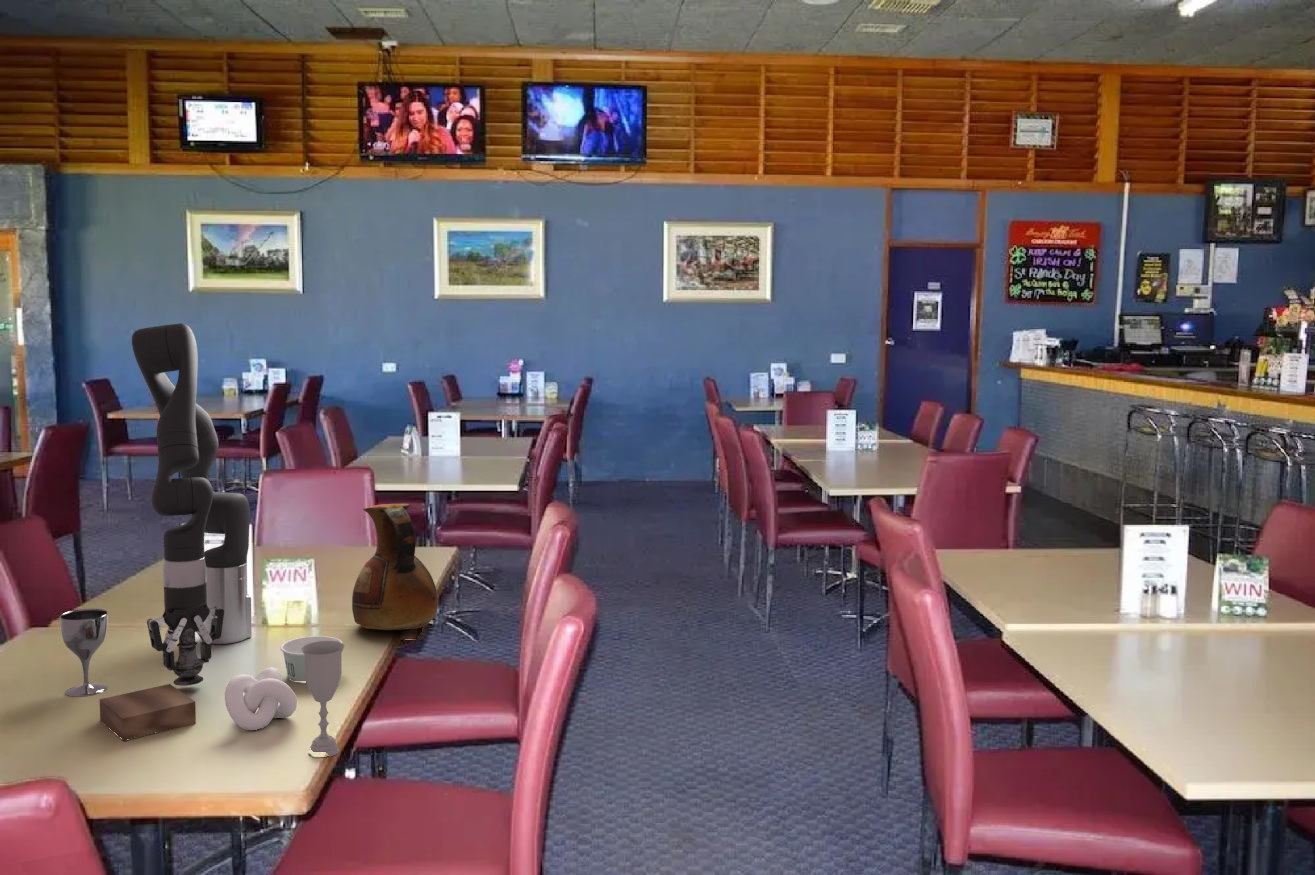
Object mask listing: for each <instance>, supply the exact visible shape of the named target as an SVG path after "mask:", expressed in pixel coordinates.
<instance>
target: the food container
mask: <svg viewBox="0 0 1315 875" xmlns="http://www.w3.org/2000/svg"><path fill="white" fill-rule="evenodd" d="M319 641H336V642H340V643H343V641H342V640H341V639H339V638H337V637H334V636H333V637H332V636H327V635H325V636H324V635H315V636H303V637H297V638H293V639H290V640H287V641H285V642H284V643H282V644H281V646H280V651H281V652H282V653H283V658H284V663H285V668H286V673H287V679H288V678H289V679H291V680H293V681H306V680H305V655H304V654H303V652H302V650H301V649H302V647H303V646H305V645H307V644H310V643H313V642H319ZM343 644H344V643H343ZM289 679H288V680H289Z"/></svg>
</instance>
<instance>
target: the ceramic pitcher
mask: <svg viewBox="0 0 1315 875" xmlns="http://www.w3.org/2000/svg"><path fill="white" fill-rule="evenodd" d="M410 506H411V505H410V503H389V504H388V503H387V504H385V503H384V504H383V503H382V504H376V505H371V506H369V507H365V508H363V511H364V512H366V513H367V514H368V516H369V517H370V518H371V519H372V522H373V523H374V527H375V530H376V538H377V541H376V543H377V545H376V550H375V553H374V554H373V555H372V557H370V558H369V560H368V561H367V562H365V564H364V565H363V566H362V568H361V570H360V571H359V573H358V576H357V578H356V580H355V583H354V587H353V590H352V596H351V598H352V599H351V609H352V615H353V620H354V622H355V623H356V624H357V625H359V626H361V627H363V628H365V629H369V630H370V629H373V630H378V631H381V630H382V631H400V630H401V631H402V630H410V629H420V628H424V627H426V626H427V625H428V624H429V623H430V622H432V620H433V619H434V618H435V617H436V616H437V612H438V603H439V602H438V593H437V586H436V585H435V581H434V579H433V576H432V575H431V572H430V571H429V569H428V568H427V567H426V565H425V564H424V563H423V562H422V561H421V559H419V558H418V557H417V556H416V555H415V554H416V543H417V542H416V534H415V529H414V525H413V520H412V519H411V516H410V514H409V513H408V512H407V510H408V509H409V508H410Z"/></svg>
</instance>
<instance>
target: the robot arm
mask: <svg viewBox="0 0 1315 875" xmlns="http://www.w3.org/2000/svg"><path fill="white" fill-rule="evenodd" d="M196 340H197V339H196V337H195V334H194V332H193V330H192V329H191V327H190V326H189V325H188V324H186V323H172V324H164V325H157V326H150V327H144V328H140V329H139V328H138V329H136V330H135V331H134V332H133V333H132V336H131V346H132V351H133V354H134V358H135V360H136V363H137V366H138V368H139V370H140V373H141V374H142V377H143V379H144V380H145V383H146V384H147V387H148V389H149V391H150V393H151V396H152V397H153V400H154V403H155V405H156V408H157V411H158V414H159V419H158V421H157V425H156V440H157V441H156V442H157V444H156V445H157V453H158V456H157V457H158V463H157V464H158V467H157V473H156V479H155V482H154V485H153V490H152V494H151V505H152V507H153V510H154V511H155V513H156V514H158V515H159V516H161V517H173V516H174V517H175V516H189V515H190V516H191V517H190V519H189V521H187V522H186V523H183V524H180V525H177V526H173V527H169V528H168V529H166V530H165V532H164V534H163V552H164V553H163V556H164V557H163V559H164V560H163V561H164V562H163V571H162V572H163V573H162V576H163V578H162V579H163V606H164V610H163V611H164V612H163V613H162V616H161V617H160V616H159V617H157V618H154V619H153V618H148V619H147V620H146V625H147V629H148V634H149V635H148V636H149V639H150V644H151V647H152V648H153V650H154V649H155V650H156V651H157V652H162V660H163V662H162V663H163V664H162V665H163V666H164V667H165V668H166V669H167V670H168V671H173V670H174V669H175V664H174V662H175V651H174V648H175V646H176V644H177V642H179V637H180V635H182V634H184V632H185V631H186V630H187V629H190V628H191V629H193V630H194V632H195V633H196V634H197V635H198V637H199V638H200V640H201V642H200V643H199V645H200V647H199V648H200V659H203V660H204V664H206V663H209V660H210V659H212V644H213V645H225V644H232V643H233V644H234V643H238V642H241V641H243V640H246V639H249V638H252V637H253V634H252V629H253V628H252V596H251V595H249V594H248V553H249V549H250V548H249V546H250V526H251V525H250V521H251V510H250V509H251V507H250V503H249V501H248V498H247V496H246V495H244V494H243V493H239V492H238V493H237V492H221V491H220V492H217V491H214V489H213V486H212V484H211V482H210V479H209V473H210V470H211V468H212V466H213V464H214V461H215V459H216V457H217V454H218V450H219V439H218V435H217V432H216V430H215V426H214V423H213V420H212V418H211V416H210V414H209V413H208V412H207V411H206V410H205V409H204V408H203V407H202V406H201V405H200V404H198V403H197V395H198V394H197V391H198V370H199V368H198V367H199V364H198V363H199V357H198V355H199V354H198V347H197V346H198V345H197V341H196ZM176 371H178V375H177V376H178V377H177V381H176V385H174V384H173V383H172V382H171V380H170V379H169V377H168V375H167V374H166V373H169V372H170V373H171V372H176ZM179 472H180V475H181V477H179V478H172V477H173V475H175V474H176V473H179ZM205 534H214V535H215V534H217V535H224V537H223V538H224V540H223V543H222V544H221V545H219V546H215V547H212V548H210V549H206V550H205ZM164 623H165V625H166V626H167V627H168V628H166V632H165V635H164V636H165V637H164V639H163V640H162V635H161V630H162V628H163V624H164Z"/></svg>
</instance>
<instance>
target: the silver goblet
mask: <svg viewBox="0 0 1315 875" xmlns="http://www.w3.org/2000/svg"><path fill="white" fill-rule="evenodd" d="M59 621H60V622H59V624H60V626H59V627H60V633H61V637H62V640H63V643H64V645H65V646H66V648H68V650H70V651H71V652H72V653H73V654H75V655H76V656H77V657H78V659H79V661H80V663H81V667H82V673H83V684H78V685H76V686H72V687H69V688H68V689H67V690H65V692H64V693H65V696H68V697H75V698H77V697H78V698H80V697H81V698H82V697H90V696H94V695H95V696H96V695H98V694H101V693H104V692H105V691H106V690H108V685H106V684H103V683H94V682H93V683H90V682H89V669H90V661H91V659H92V657H93V656H94V654H95V653H96V652H97V651H98V650H99V649H100V647H101V646H102V645H103V643H104V642H105V639H106V636H107V633H108V632H107V631H108V626H109V625H108V624H109V614H108V610H106V609H102V608H80V609H73V610H69V611H67V612H64V613H62V614H61V615H59Z"/></svg>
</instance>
